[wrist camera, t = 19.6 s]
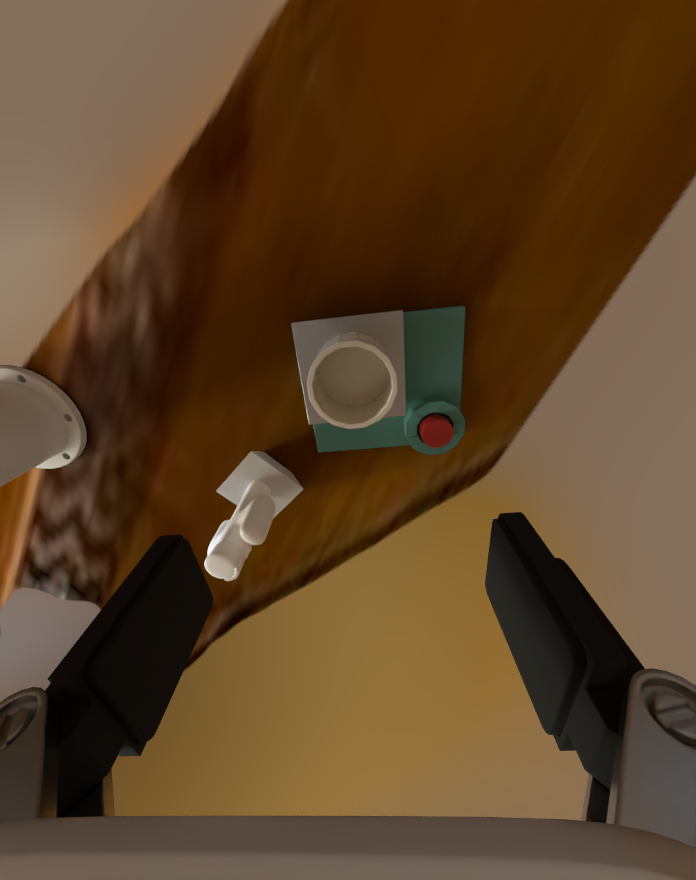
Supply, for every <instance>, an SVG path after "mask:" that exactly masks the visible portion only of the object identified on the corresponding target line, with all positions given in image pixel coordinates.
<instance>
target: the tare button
mask: <svg viewBox="0 0 696 880" xmlns="http://www.w3.org/2000/svg"><path fill="white" fill-rule="evenodd" d="M419 432H420V435H421V437H422V440H423V442H424V443H425V444H426V445H428V446H430V447H433V448H438V447H442V446H445V445H446V444H448V443H449V442H450V440H451V439H452V437H453V427H452V425H451V424H450V422H449V421H448V419H447V418H446V417H445V416H443V415H440V414H432V415H429V416H427V417H426V418H425V419H423V421H422V422H421V424H420V427H419Z"/></svg>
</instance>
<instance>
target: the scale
mask: <svg viewBox="0 0 696 880" xmlns="http://www.w3.org/2000/svg"><path fill="white" fill-rule="evenodd" d="M465 308H466V307H464V306H454V307H445V308H436V309H427V310H418V311H410V312H403V321H404V354H405V388H406V416H398V417H387V418H382V419H381V420H379V421H377V422H375V423H373V424H371V425H369V426H367V427H364V428H353V429H347V428H343V427H339V426H336V425H332V424H331V423H320V424H313V427H314V433H315V439H316V445H317V450H318V453H320V452H332V451H344V450H356V449H368V448H380V447H392V446H404V445H411V446H412V448H413V449H414V450H416V451H419V452H421V453H424V454H426V455H433V454H443V453H445V452H446V451H448V450H450V449H452V448H453V447H455V446H456V445H457V444H458V442H459V441H460V439H461V438H462V436H463V435H464V430H465V418H464V417H463V415H462V413H461V412H460V406H461V387H462V367H463V347H464V328H465ZM432 414H440V415H443V416H445V417H446V418H447V419H448V421H449V422H450V424H451V425H452V427H453V437H452V439H451V440H450V442H449V443H448V444H446V445H445V446H442V447H438V448H433V447H430V446H428V445H426V444H425V443H424V442H423V440H422V437H421V435H420V432H419V427H420V424H421V422H422V421H423V419H425V418H426V417H427V416H429V415H432Z"/></svg>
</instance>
